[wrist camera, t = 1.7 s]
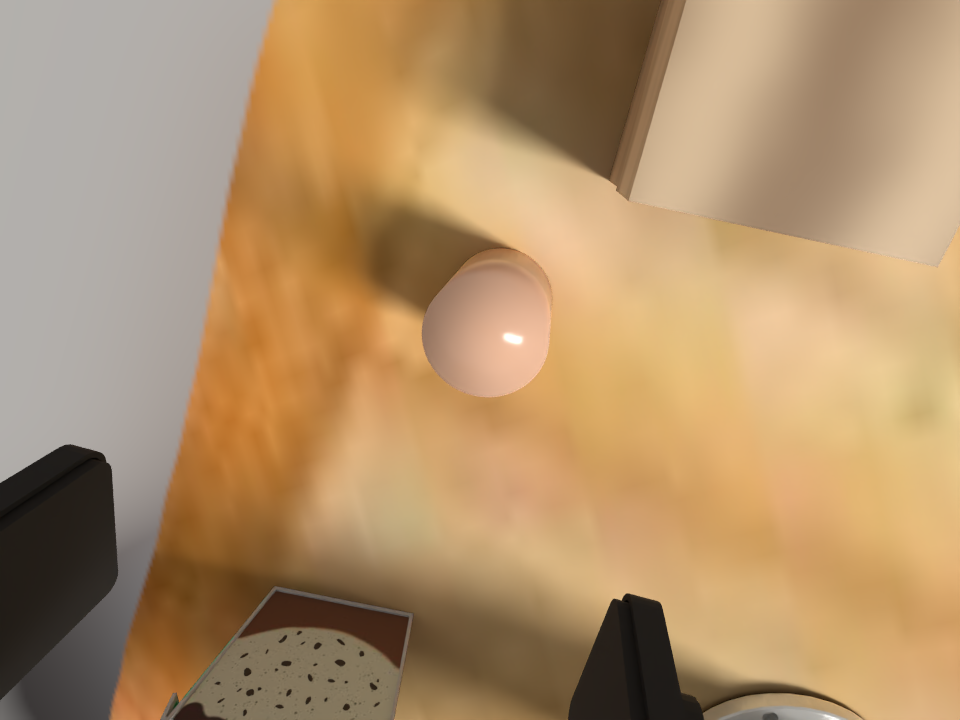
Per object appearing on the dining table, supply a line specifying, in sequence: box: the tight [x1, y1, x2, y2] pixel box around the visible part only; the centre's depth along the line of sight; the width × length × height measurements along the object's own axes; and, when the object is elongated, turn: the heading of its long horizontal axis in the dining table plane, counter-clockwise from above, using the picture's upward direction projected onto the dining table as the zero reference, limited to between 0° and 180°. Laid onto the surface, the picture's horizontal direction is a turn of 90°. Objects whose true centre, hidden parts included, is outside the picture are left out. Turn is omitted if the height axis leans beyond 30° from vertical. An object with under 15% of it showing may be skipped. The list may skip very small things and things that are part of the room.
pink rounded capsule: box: [422, 248, 552, 397], centre depth 24 cm, size 5×5×6 cm
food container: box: [160, 586, 414, 720], centre depth 32 cm, size 12×6×10 cm, turn 84°
